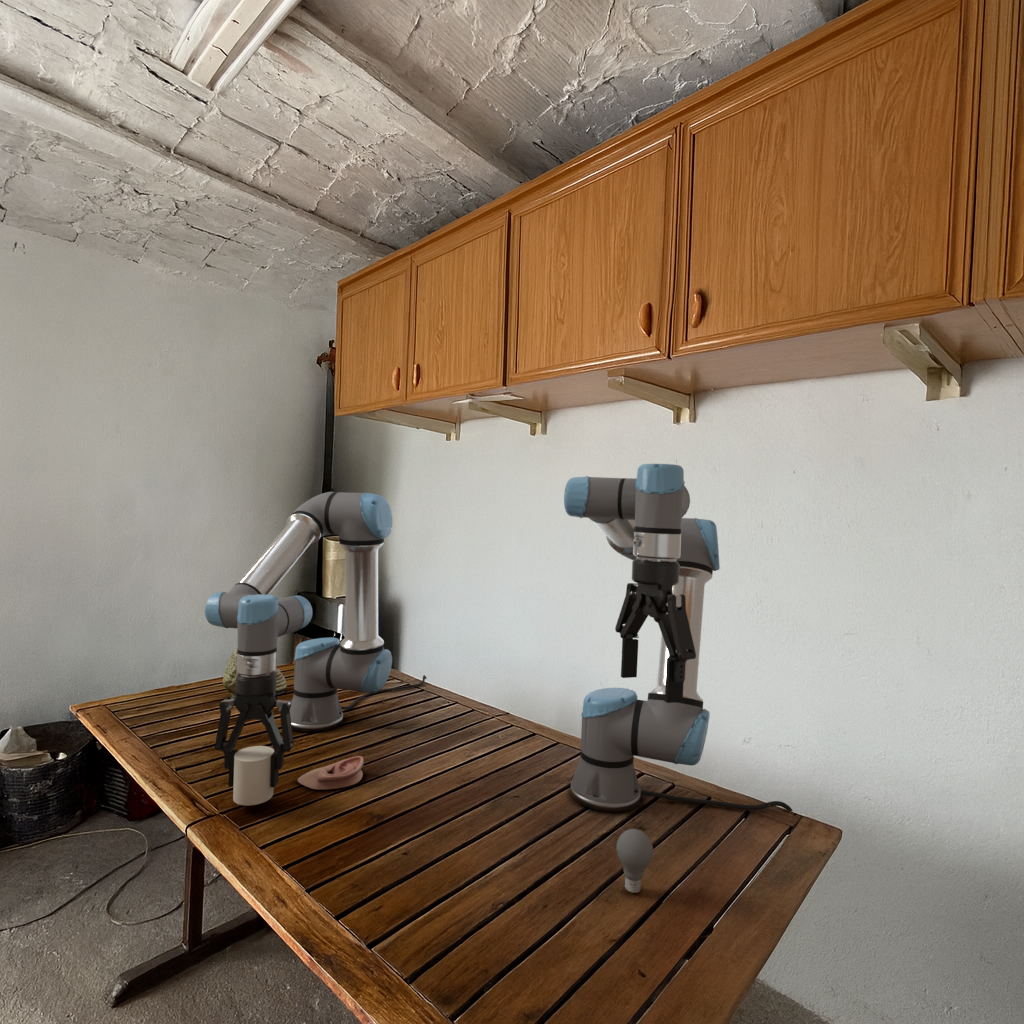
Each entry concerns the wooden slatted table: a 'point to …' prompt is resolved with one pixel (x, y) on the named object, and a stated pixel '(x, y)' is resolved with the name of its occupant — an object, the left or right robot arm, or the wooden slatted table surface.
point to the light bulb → (634, 857)
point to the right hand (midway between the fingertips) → (649, 688)
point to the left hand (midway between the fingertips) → (253, 783)
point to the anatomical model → (334, 775)
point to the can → (252, 775)
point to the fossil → (231, 673)
